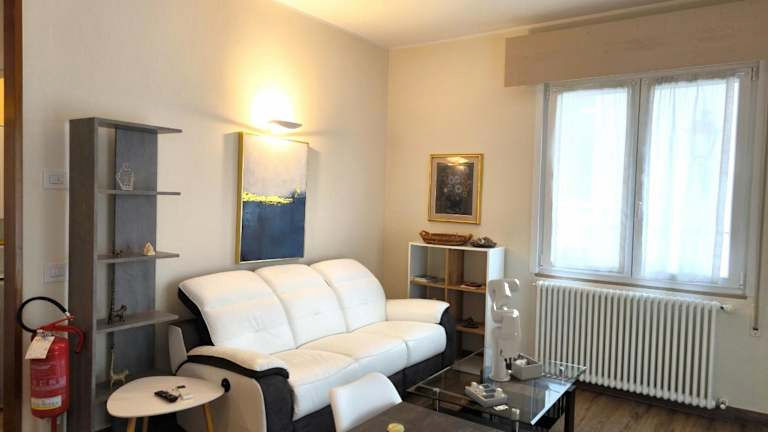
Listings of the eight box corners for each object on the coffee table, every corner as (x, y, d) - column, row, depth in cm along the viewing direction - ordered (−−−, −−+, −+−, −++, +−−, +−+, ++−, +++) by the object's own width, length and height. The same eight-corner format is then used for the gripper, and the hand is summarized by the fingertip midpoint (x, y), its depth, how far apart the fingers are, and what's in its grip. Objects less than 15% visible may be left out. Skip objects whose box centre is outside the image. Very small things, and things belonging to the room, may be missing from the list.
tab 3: (499, 396, 292) (500, 387, 292) (504, 399, 289) (504, 390, 288) (493, 397, 291) (494, 388, 291) (498, 400, 287) (498, 391, 287)
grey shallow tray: (487, 389, 306) (487, 382, 306) (508, 402, 287) (508, 396, 287) (465, 393, 300) (465, 386, 300) (484, 407, 282) (485, 400, 281)
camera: (523, 376, 325) (524, 360, 324) (511, 374, 329) (512, 358, 328) (531, 369, 337) (531, 353, 337) (519, 366, 341) (519, 351, 341)
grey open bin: (519, 364, 346) (520, 352, 345) (542, 376, 326) (542, 363, 325) (500, 367, 340) (500, 355, 340) (522, 380, 320) (522, 367, 319)
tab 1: (475, 390, 300) (475, 381, 300) (479, 392, 296) (479, 384, 296) (469, 391, 299) (469, 382, 298) (473, 394, 295) (473, 385, 295)
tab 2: (481, 394, 295) (482, 385, 295) (486, 397, 291) (486, 388, 291) (475, 395, 293) (475, 386, 293) (479, 398, 290) (480, 389, 289)
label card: (504, 405, 284) (504, 404, 284) (508, 408, 281) (508, 407, 281) (493, 407, 281) (493, 407, 281) (497, 410, 278) (497, 409, 278)
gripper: (516, 333, 296) (515, 365, 297) (493, 336, 290) (493, 369, 291) (525, 336, 289) (524, 370, 290) (501, 339, 283) (501, 373, 284)
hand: (508, 369), depth 291 cm, fingers closed
